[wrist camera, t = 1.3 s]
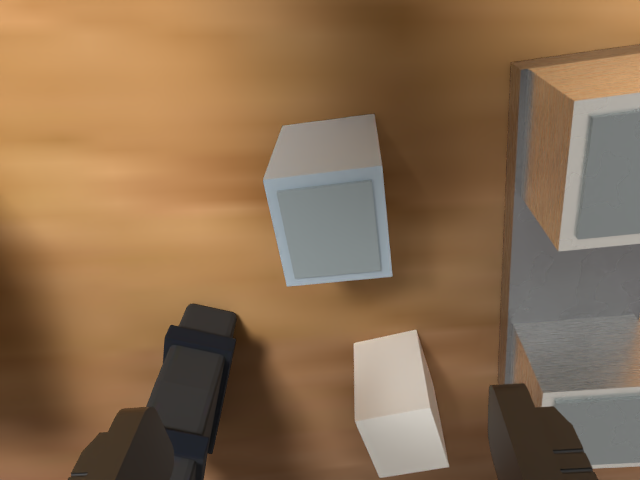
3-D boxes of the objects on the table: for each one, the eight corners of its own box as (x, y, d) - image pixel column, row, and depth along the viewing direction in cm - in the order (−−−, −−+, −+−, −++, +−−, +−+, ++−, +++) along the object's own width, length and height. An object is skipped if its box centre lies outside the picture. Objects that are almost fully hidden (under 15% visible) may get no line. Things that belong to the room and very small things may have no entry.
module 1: (282, 125, 24) (262, 182, 19) (374, 113, 24) (382, 167, 18) (299, 215, 27) (286, 289, 21) (383, 206, 26) (392, 279, 21)
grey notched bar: (510, 62, 22) (567, 103, 17) (678, 38, 22) (798, 73, 16) (497, 380, 32) (530, 474, 27) (611, 372, 32) (670, 468, 26)
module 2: (353, 342, 31) (354, 421, 26) (416, 329, 31) (430, 407, 25) (374, 396, 34) (379, 477, 29) (433, 384, 33) (449, 466, 28)
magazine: (248, 287, 27) (160, 628, 19) (234, 364, 38) (175, 602, 30) (180, 272, 27) (60, 612, 19) (186, 354, 38) (112, 592, 30)
